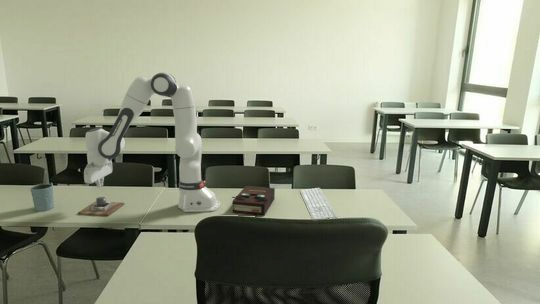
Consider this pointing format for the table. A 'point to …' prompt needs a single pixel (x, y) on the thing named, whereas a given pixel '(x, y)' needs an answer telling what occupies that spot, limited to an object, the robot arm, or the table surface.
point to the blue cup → (42, 197)
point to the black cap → (101, 201)
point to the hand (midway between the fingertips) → (100, 186)
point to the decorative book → (253, 200)
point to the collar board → (101, 209)
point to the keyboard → (317, 204)
